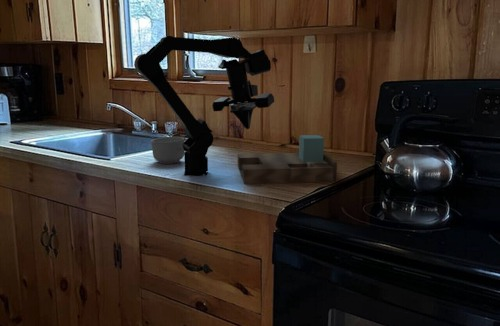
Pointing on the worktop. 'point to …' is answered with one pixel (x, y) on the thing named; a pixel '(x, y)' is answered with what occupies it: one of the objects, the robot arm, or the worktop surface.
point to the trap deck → (285, 168)
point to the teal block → (311, 148)
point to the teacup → (168, 149)
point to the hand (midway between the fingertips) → (248, 128)
